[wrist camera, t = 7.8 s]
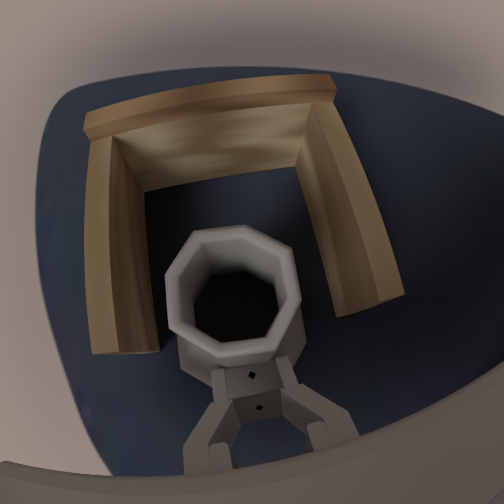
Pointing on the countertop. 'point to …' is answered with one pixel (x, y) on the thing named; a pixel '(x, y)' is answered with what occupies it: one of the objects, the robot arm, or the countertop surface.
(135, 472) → the countertop surface
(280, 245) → the flask
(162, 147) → the wooden arch bench
